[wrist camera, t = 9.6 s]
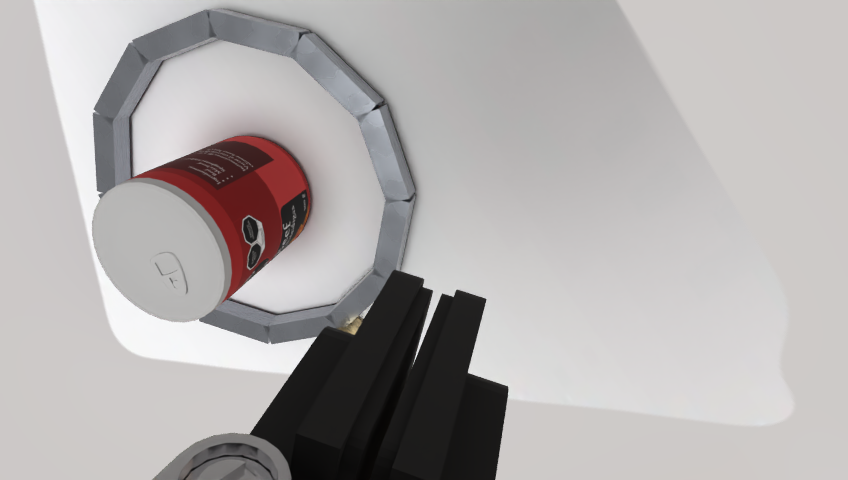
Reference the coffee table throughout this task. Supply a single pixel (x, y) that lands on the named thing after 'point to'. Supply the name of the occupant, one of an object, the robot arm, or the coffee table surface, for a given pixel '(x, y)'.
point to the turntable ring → (332, 77)
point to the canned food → (200, 225)
